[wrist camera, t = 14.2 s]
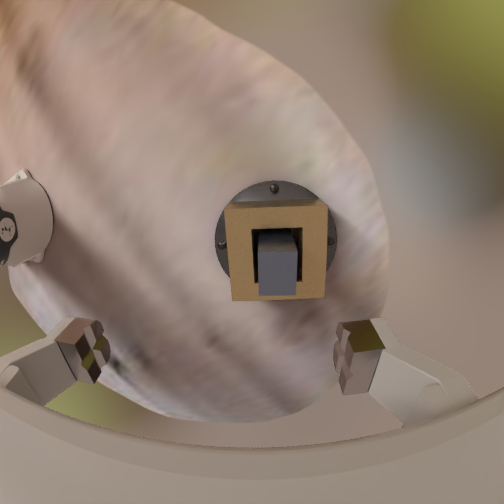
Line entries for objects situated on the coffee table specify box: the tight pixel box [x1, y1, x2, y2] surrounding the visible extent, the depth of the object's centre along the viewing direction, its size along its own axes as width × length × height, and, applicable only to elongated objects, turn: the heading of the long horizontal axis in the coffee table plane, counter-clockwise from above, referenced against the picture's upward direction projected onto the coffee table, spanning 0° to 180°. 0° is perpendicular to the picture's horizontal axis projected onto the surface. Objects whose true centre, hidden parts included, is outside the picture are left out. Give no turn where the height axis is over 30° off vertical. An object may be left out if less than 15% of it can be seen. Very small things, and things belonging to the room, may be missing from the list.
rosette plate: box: [215, 181, 337, 301], centre depth 36 cm, size 17×17×6 cm
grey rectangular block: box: [258, 228, 298, 296], centre depth 33 cm, size 4×5×10 cm
